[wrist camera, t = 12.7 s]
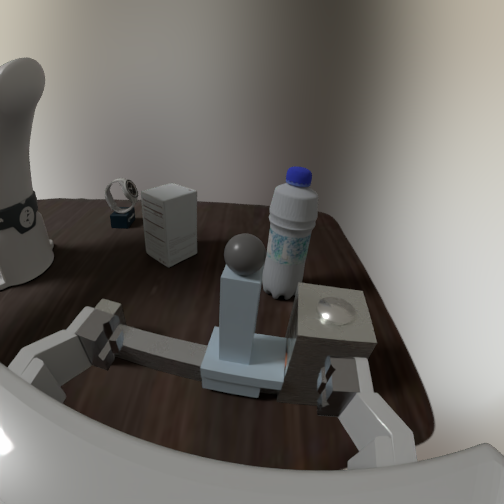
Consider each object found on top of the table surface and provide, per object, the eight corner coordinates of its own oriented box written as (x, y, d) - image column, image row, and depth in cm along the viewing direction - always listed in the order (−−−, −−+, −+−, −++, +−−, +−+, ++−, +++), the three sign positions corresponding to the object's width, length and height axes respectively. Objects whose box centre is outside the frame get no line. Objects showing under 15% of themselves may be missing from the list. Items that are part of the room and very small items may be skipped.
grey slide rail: (89, 357, 28) (60, 283, 22) (117, 317, 35) (100, 246, 29) (338, 410, 26) (379, 343, 20) (334, 358, 33) (363, 287, 27)
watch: (135, 228, 59) (131, 182, 54) (105, 227, 59) (100, 183, 53) (142, 219, 64) (140, 176, 59) (114, 218, 64) (110, 176, 58)
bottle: (267, 274, 48) (283, 159, 39) (304, 285, 46) (328, 168, 37) (252, 295, 43) (267, 166, 33) (294, 309, 41) (321, 177, 31)
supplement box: (174, 241, 56) (172, 181, 50) (198, 254, 52) (198, 190, 46) (145, 253, 51) (139, 190, 44) (167, 269, 47) (163, 200, 41)
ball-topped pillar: (202, 388, 26) (194, 248, 18) (214, 349, 32) (217, 215, 23) (276, 402, 26) (316, 267, 18) (280, 360, 31) (311, 229, 23)
